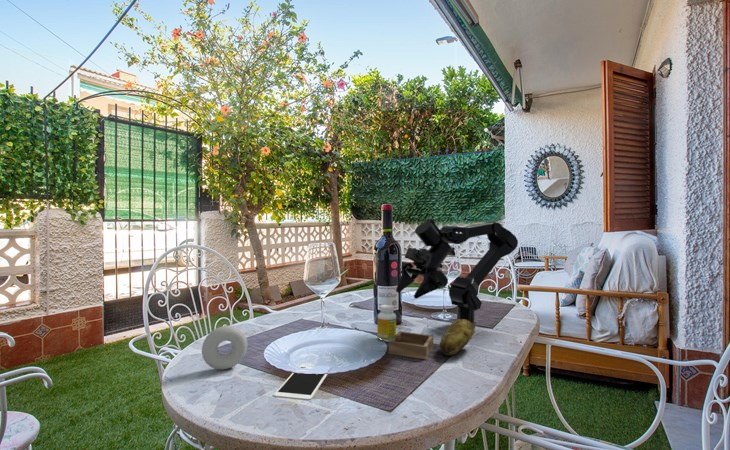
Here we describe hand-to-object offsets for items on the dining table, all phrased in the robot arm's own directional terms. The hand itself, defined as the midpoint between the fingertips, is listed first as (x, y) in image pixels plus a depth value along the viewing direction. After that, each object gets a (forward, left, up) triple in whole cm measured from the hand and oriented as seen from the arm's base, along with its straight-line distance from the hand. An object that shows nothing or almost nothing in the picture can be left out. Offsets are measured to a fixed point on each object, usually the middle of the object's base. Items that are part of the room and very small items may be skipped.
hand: (405, 294), depth 111 cm
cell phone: (+38, -12, -13) cm, 42 cm away
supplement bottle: (+5, -4, -13) cm, 14 cm away
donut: (+40, -32, -13) cm, 53 cm away
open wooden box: (+11, +5, -12) cm, 17 cm away
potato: (+7, +16, -13) cm, 21 cm away
